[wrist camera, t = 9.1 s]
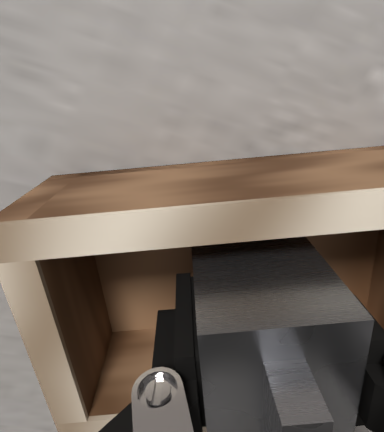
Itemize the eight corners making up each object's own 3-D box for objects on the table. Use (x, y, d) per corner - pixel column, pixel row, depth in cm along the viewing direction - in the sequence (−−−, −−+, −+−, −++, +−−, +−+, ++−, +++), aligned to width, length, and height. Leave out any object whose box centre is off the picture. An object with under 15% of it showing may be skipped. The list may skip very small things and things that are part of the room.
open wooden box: (411, 143, 13) (543, 175, 8) (379, 318, 17) (457, 410, 12) (52, 175, 13) (-21, 226, 8) (96, 342, 17) (63, 444, 12)
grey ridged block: (297, 226, 12) (422, 377, 6) (292, 330, 14) (380, 525, 8) (190, 236, 12) (200, 397, 6) (200, 338, 14) (215, 539, 8)
